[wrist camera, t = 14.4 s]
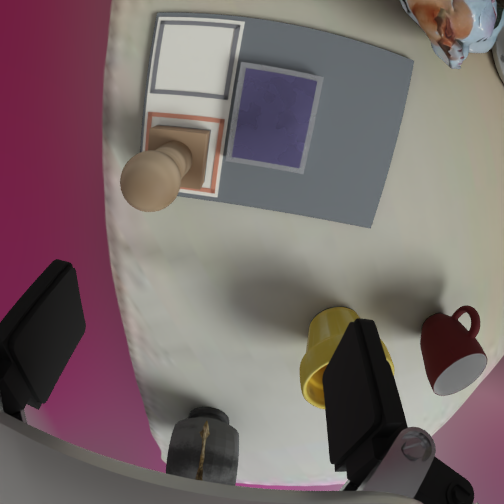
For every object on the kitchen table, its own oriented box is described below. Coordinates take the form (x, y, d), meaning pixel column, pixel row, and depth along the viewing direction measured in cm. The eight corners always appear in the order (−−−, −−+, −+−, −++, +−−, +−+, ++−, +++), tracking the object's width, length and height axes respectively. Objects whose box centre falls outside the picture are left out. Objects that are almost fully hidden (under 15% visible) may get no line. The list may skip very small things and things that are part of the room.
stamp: (158, 124, 27) (105, 149, 17) (211, 130, 27) (181, 156, 18) (154, 175, 29) (105, 222, 20) (204, 181, 30) (176, 232, 20)
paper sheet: (159, 17, 22) (158, 16, 22) (244, 22, 22) (244, 21, 22) (141, 186, 30) (140, 187, 30) (217, 196, 31) (217, 197, 30)
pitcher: (180, 432, 55) (157, 567, 29) (176, 377, 45) (138, 563, 19) (235, 439, 55) (225, 577, 29) (247, 386, 46) (237, 578, 20)
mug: (431, 283, 36) (465, 337, 27) (473, 288, 36) (508, 336, 27) (400, 343, 41) (421, 398, 32) (442, 344, 41) (465, 393, 33)
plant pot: (383, 294, 37) (409, 351, 28) (362, 352, 42) (377, 408, 33) (301, 291, 37) (310, 354, 28) (290, 352, 42) (294, 412, 33)
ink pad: (242, 63, 24) (241, 61, 23) (320, 77, 25) (324, 77, 23) (227, 157, 29) (225, 161, 27) (301, 170, 29) (303, 174, 28)
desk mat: (159, 13, 22) (157, 12, 22) (411, 61, 23) (414, 60, 23) (140, 189, 31) (138, 190, 30) (368, 225, 32) (370, 228, 32)
